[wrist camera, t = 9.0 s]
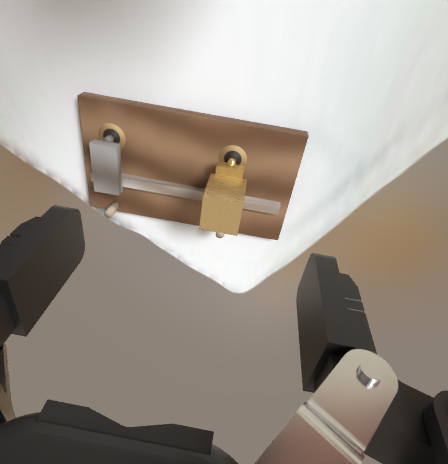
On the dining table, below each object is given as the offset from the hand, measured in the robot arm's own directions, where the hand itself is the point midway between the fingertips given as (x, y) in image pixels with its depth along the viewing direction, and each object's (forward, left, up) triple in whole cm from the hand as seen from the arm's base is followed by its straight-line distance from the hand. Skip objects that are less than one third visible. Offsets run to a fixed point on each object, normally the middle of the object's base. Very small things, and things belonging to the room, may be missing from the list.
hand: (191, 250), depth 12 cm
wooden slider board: (+11, -5, -28) cm, 31 cm away
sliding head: (+11, 0, -26) cm, 28 cm away
